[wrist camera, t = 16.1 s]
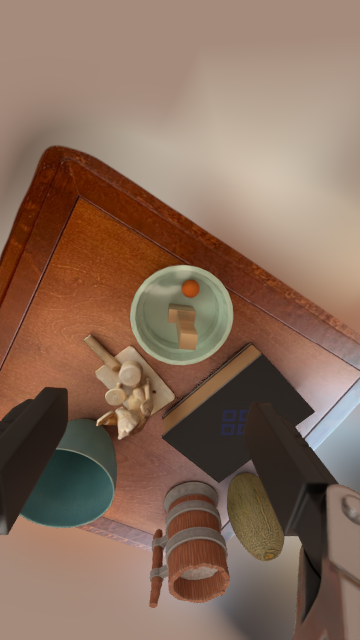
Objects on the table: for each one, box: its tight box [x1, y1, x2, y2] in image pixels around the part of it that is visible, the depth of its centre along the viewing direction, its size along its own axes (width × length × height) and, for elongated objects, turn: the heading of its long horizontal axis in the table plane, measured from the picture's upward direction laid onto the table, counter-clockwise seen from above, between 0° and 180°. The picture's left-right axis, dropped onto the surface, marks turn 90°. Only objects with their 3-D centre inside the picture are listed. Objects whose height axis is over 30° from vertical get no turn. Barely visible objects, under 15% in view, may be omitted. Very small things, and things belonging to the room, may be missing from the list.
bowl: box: [130, 264, 233, 365], centre depth 37 cm, size 17×17×7 cm
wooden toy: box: [84, 335, 175, 440], centre depth 37 cm, size 22×10×14 cm, turn 34°
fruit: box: [227, 473, 284, 561], centre depth 47 cm, size 11×11×15 cm
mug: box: [149, 482, 230, 608], centre depth 48 cm, size 14×19×15 cm
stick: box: [168, 303, 198, 350], centre depth 32 cm, size 2×4×16 cm, turn 82°
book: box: [162, 342, 315, 483], centre depth 44 cm, size 17×25×7 cm
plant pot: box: [19, 418, 117, 528], centre depth 41 cm, size 18×18×12 cm
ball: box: [182, 280, 200, 298], centre depth 37 cm, size 3×3×3 cm
